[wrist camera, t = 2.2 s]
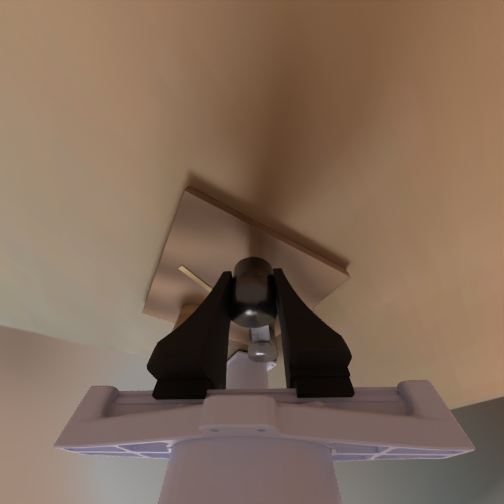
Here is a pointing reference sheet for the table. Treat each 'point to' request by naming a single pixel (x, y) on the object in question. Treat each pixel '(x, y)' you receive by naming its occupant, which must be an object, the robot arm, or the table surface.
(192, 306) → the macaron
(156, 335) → the table surface
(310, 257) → the board
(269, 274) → the lever
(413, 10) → the table surface
